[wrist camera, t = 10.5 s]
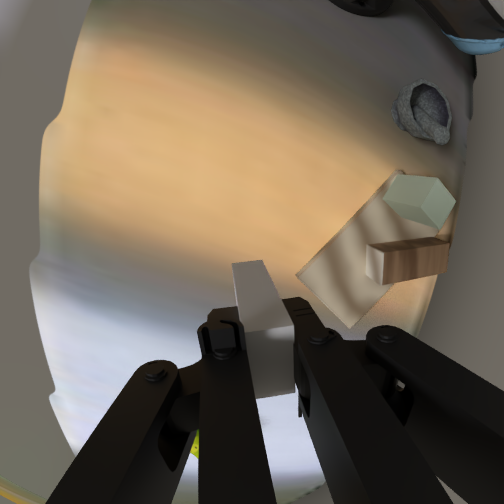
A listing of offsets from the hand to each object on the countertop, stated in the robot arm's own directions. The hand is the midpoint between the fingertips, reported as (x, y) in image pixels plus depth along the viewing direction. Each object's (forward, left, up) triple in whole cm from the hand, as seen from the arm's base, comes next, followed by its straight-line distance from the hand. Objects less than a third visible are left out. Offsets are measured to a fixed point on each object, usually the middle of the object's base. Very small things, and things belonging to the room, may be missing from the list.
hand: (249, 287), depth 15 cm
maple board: (-12, +21, -28) cm, 37 cm away
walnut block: (-10, +20, -24) cm, 33 cm away
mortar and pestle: (-32, +9, -29) cm, 44 cm away
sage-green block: (-21, +17, -27) cm, 38 cm away
